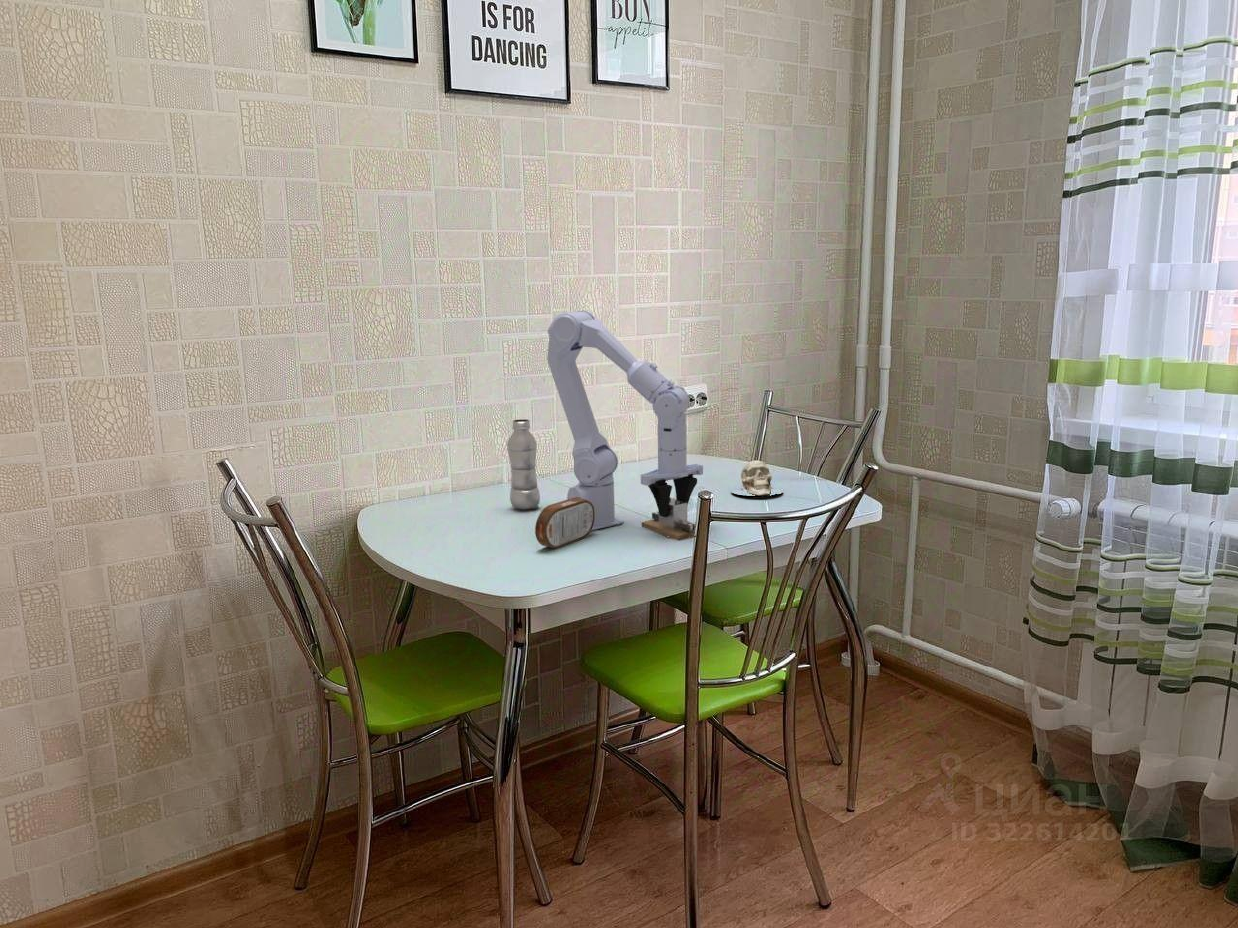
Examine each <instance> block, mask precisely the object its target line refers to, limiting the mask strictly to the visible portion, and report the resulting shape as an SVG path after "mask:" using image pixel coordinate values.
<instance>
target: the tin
mask: <svg viewBox="0 0 1238 928" xmlns="http://www.w3.org/2000/svg"><path fill="white" fill-rule="evenodd" d="M594 517H595V512H594V506H593V505H592V503H591V502H589V501H588V500H585V499H582V498H580V497H574V498H571V499H568V500H567V499H565V500H562V501H558V502H556V503H551V504H548V505H547V506H545V507H544V508H543V509H542V510H541V511H540V512H539V514H538V516H537V519H536V521H535V526H534V534H535V538H536V541H537V542H538V543H539V544H540V545H542V546H543V547H548V548H550V549H558V548H562V547H564V546H566V545H569V544H572V543H575V542H577V541H581V540H583V539H585V538H587V536H588V535H589V534H590V533H591V532H592V531H593V530H592V527H593V525H594Z"/></svg>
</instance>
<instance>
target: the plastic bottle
mask: <svg viewBox="0 0 1238 928" xmlns="http://www.w3.org/2000/svg"><path fill="white" fill-rule="evenodd" d="M530 423H531V422H530V419H527V418H523V419H522V418H521V419H520V418H518V419H513V420H512V427H511V429H512V431H513V432H512V433H511V435H510V436H509V438H508V439H507V443H506V447H507V448H506V449H507V453H508V459H509V464H510V465H509V466H510V473H511V481H510V483H511V486H510V491H509V501H510V504H511V506H512V507H513V508H514V509H516V510H517V509H518V510H525V511H527V510H531V509H535V508H537V507H538V506H539V504H540V501H541V500H540V499H541V496H540V490H539V487H538V479H537V473H536V471H537V469H536V466H537V465H536V460H537V449H538V448H537V446H538V444H537V441H536V438H535V436H534V435H533V434H532V433H531V431H530V429H531V424H530Z"/></svg>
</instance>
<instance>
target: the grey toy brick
mask: <svg viewBox="0 0 1238 928" xmlns="http://www.w3.org/2000/svg"><path fill="white" fill-rule="evenodd" d="M688 520H689V519H688V506H687V503H686V502H683V501H680V500H677V499H676V498H674V497H670V499H669V515H668V517H663V516H660V515H659V525H662V526H665V527H667V528H670V529H673V530H676V529H680V522H685V521H687V522H689V521H688Z"/></svg>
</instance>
